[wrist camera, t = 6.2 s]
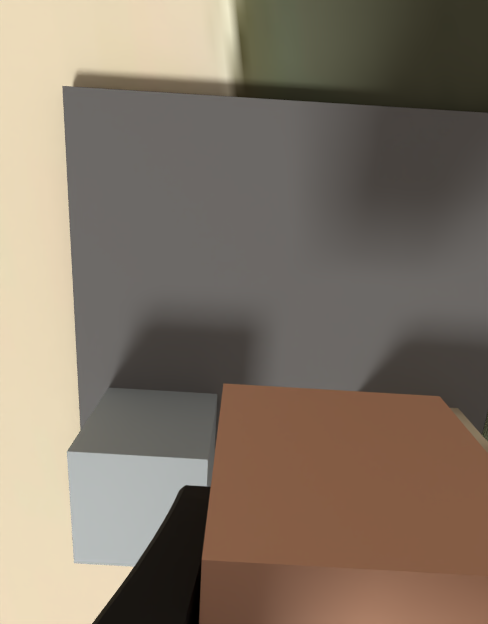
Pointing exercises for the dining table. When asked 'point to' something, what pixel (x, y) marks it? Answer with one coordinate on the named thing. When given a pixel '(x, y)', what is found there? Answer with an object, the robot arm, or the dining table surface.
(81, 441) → the slate block
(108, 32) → the dining table surface
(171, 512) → the robot arm
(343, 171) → the mat
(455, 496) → the terracotta block
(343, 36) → the dining table surface
